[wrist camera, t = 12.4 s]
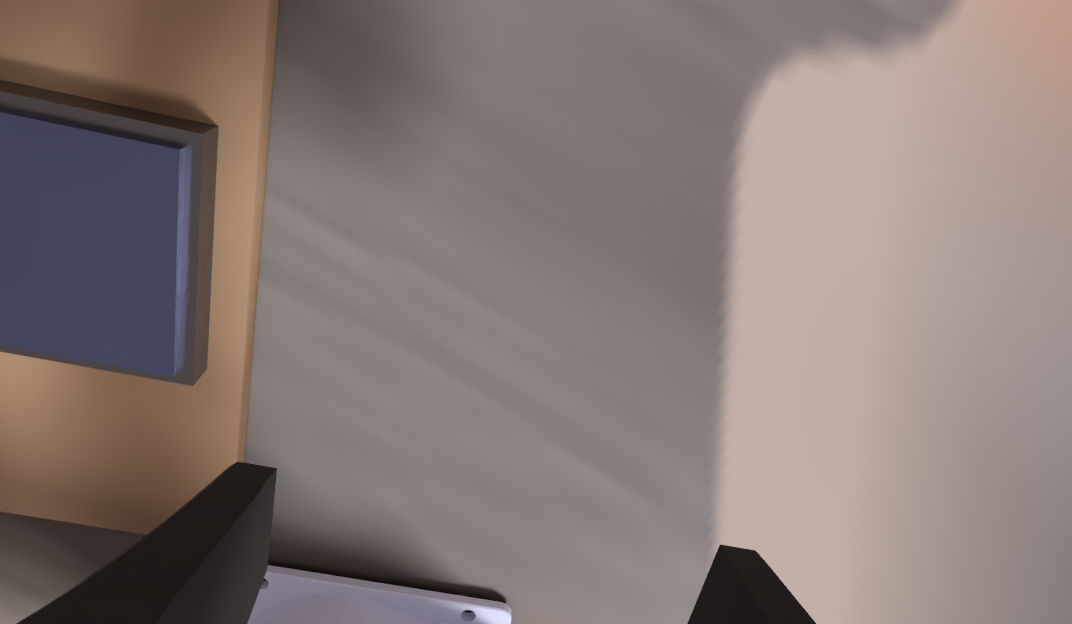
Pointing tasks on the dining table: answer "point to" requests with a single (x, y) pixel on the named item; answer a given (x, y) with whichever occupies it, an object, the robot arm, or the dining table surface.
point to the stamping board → (224, 388)
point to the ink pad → (105, 234)
